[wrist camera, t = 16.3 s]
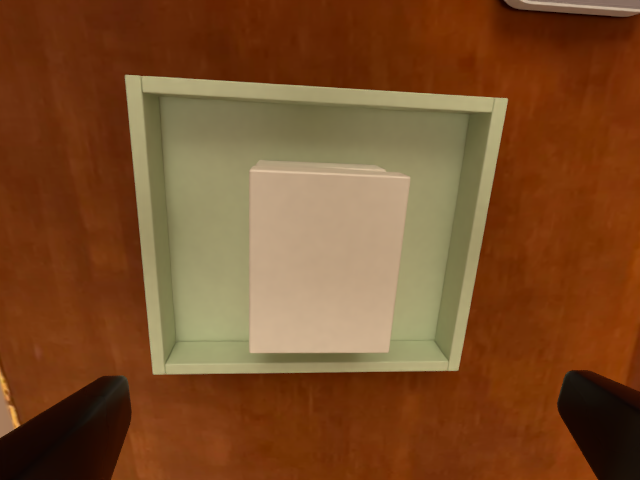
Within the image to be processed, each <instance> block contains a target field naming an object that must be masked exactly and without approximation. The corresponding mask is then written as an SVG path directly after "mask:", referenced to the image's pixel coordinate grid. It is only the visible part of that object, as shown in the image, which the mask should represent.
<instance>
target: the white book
mask: <svg viewBox="0 0 640 480" xmlns="http://www.w3.org/2000/svg"><path fill="white" fill-rule="evenodd" d="M409 187H410V177H409V176H407V175H404V174H402V173H400V172H379V171H358V170H336V169H315V168H293V167H272V166H252V168H251V169H250V171H249V352H250V353H388V352H389V347H390V339H391V331H392V323H393V315H394V307H395V299H396V291H397V283H398V275H399V267H400V259H401V251H402V243H403V235H404V227H405V219H406V211H407V203H408V195H409Z"/></svg>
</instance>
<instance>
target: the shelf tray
mask: <svg viewBox="0 0 640 480" xmlns="http://www.w3.org/2000/svg"><path fill="white" fill-rule="evenodd" d="M125 83H126V93H127V104H128V115H129V125H130V136H131V146H132V157H133V168H134V178H135V189H136V200H137V210H138V221H139V232H140V242H141V253H142V264H143V274H144V285H145V296H146V306H147V317H148V327H149V338H150V349H151V359H152V370H153V374H154V375H156V374H165V373H166V374H235V373H313V372H392V371H458V369H459V364H460V359H461V353H462V348H463V342H464V337H465V331H466V326H467V320H468V315H469V309H470V304H471V299H472V293H473V288H474V282H475V277H476V271H477V266H478V260H479V255H480V249H481V244H482V238H483V233H484V228H485V222H486V217H487V211H488V206H489V200H490V195H491V189H492V184H493V178H494V173H495V167H496V162H497V157H498V151H499V146H500V140H501V135H502V129H503V124H504V118H505V113H506V107H507V102H508V99H507V98H491V97H475V96H459V95H443V94H427V93H411V92H394V91H378V90H362V89H346V88H330V87H314V86H298V85H282V84H266V83H249V82H233V81H217V80H201V79H185V78H169V77H153V76H136V75H125ZM259 160H273V161H297V162H320V163H344V164H368V165H376V166H378V167H381V168H383V169H385V170H386V172H400V173H402V174H404V175H407V176H409V177H410V187H409V195H408V203H407V211H406V219H405V227H404V235H403V243H402V251H401V259H400V267H399V275H398V283H397V291H396V299H395V307H394V315H393V323H392V331H391V339H390V347H389V352H388V353H250V352H249V171H250V169H251V168H252V166H256V164H257V162H258V161H259Z"/></svg>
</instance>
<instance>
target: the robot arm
mask: <svg viewBox="0 0 640 480" xmlns="http://www.w3.org/2000/svg"><path fill="white" fill-rule="evenodd" d="M557 407H558V411H559V414H560V416H561V418H562V419H563V421H564V423H565V424H566V426H567V428H568V429H569V431H570V433H571V435H572V436H573V438H574V440H575V441H576V443H577V445H578V446H579V448H580V450H581V451H582V453H583V455H584V457H585V458H586V460H587V462H588V463H589V465H590V467H591V468H592V470H593V472H594V474H595V475H596V477H597V479H598V480H640V392H639V391H636V390H634V389H632V388H629V387H627V386H625V385H622V384H620V383H618V382H615V381H613V380H611V379H608V378H606V377H603V376H601V375H599V374H596V373H594V372H592V371H588V370H572V371H569V372H567V374H566V375H565V377H564V380H563V384H562V387H561V391H560V394H559V398H558V402H557ZM130 421H131V403H130V394H129V386H128V381H127V378H126V377H124V376H103V377H100V378H98V379H97V380H95V381H93V382H92V383H90V384H89V385H87V386H85V387H84V388H82V389H80V390H79V391H77V392H75V393H74V394H72V395H70V396H69V397H67V398H65V399H64V400H62V401H61V402H59V403H57V404H56V405H54V406H52V407H51V408H49V409H47V410H46V411H44V412H42V413H41V414H39V415H37V416H36V417H34V418H32V419H31V420H29V421H28V422H26V423H24V424H23V425H21V426H19V427H18V428H16V429H14V430H13V431H11V432H9V433H8V434H6V435H5V436H3V437H1V438H0V480H111V478H112V475H113V472H114V469H115V466H116V463H117V460H118V457H119V454H120V451H121V449H122V446H123V443H124V440H125V437H126V434H127V431H128V428H129V425H130Z"/></svg>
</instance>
